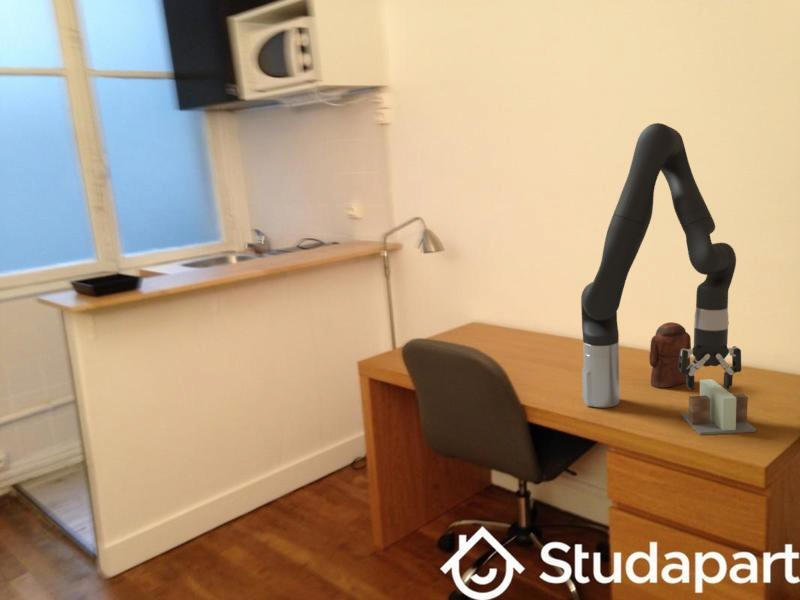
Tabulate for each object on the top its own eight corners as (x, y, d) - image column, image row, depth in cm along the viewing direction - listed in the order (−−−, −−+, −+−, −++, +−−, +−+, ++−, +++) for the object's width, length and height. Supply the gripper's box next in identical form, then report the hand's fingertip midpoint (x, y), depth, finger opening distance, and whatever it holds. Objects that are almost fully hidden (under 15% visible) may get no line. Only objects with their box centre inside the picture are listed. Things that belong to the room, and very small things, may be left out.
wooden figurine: (675, 376, 205) (676, 317, 202) (692, 382, 200) (693, 321, 196) (645, 384, 201) (644, 324, 197) (661, 390, 195) (661, 328, 191)
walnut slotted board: (692, 424, 169) (692, 399, 167) (688, 421, 171) (688, 396, 170) (747, 421, 168) (747, 396, 167) (742, 418, 170) (743, 393, 169)
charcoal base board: (699, 434, 164) (699, 432, 164) (681, 416, 176) (681, 413, 176) (756, 431, 163) (756, 429, 163) (734, 413, 175) (734, 411, 175)
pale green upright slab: (722, 430, 164) (723, 398, 163) (699, 409, 178) (699, 379, 176) (735, 429, 164) (736, 397, 162) (711, 408, 178) (711, 379, 176)
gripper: (735, 320, 172) (732, 383, 175) (676, 322, 173) (674, 384, 176) (747, 328, 164) (744, 393, 168) (686, 330, 166) (684, 394, 169)
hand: (708, 388), depth 172 cm, fingers open, 8 cm apart
